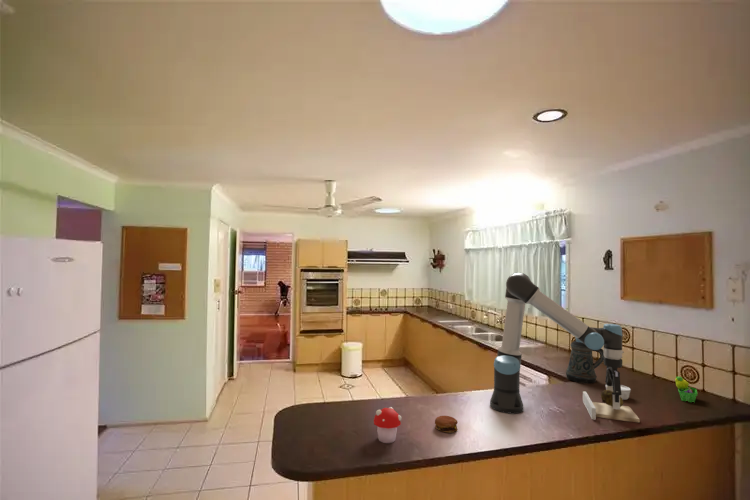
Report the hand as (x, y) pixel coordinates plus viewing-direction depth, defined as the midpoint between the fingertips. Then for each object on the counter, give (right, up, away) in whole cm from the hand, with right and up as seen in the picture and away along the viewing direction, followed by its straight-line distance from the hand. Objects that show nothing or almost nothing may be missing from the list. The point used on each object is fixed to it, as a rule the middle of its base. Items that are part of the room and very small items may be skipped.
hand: (613, 404), depth 179 cm
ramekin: (+17, -5, +23) cm, 29 cm away
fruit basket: (+51, -6, +21) cm, 55 cm away
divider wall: (-10, -4, +3) cm, 11 cm away
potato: (0, -1, 0) cm, 1 cm away
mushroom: (-107, -2, -31) cm, 111 cm away
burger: (-82, -2, -20) cm, 84 cm away
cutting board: (0, -4, 0) cm, 4 cm away
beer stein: (+14, -6, +52) cm, 54 cm away
